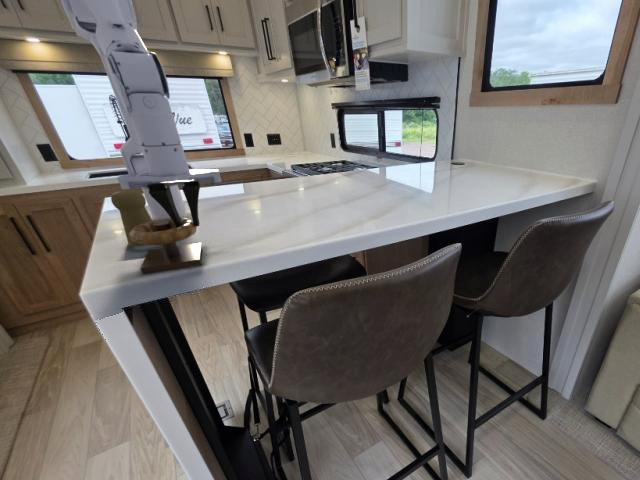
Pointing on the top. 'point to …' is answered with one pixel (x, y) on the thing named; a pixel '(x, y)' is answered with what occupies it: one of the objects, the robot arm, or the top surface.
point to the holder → (171, 255)
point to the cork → (131, 210)
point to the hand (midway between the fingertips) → (188, 225)
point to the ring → (162, 232)
